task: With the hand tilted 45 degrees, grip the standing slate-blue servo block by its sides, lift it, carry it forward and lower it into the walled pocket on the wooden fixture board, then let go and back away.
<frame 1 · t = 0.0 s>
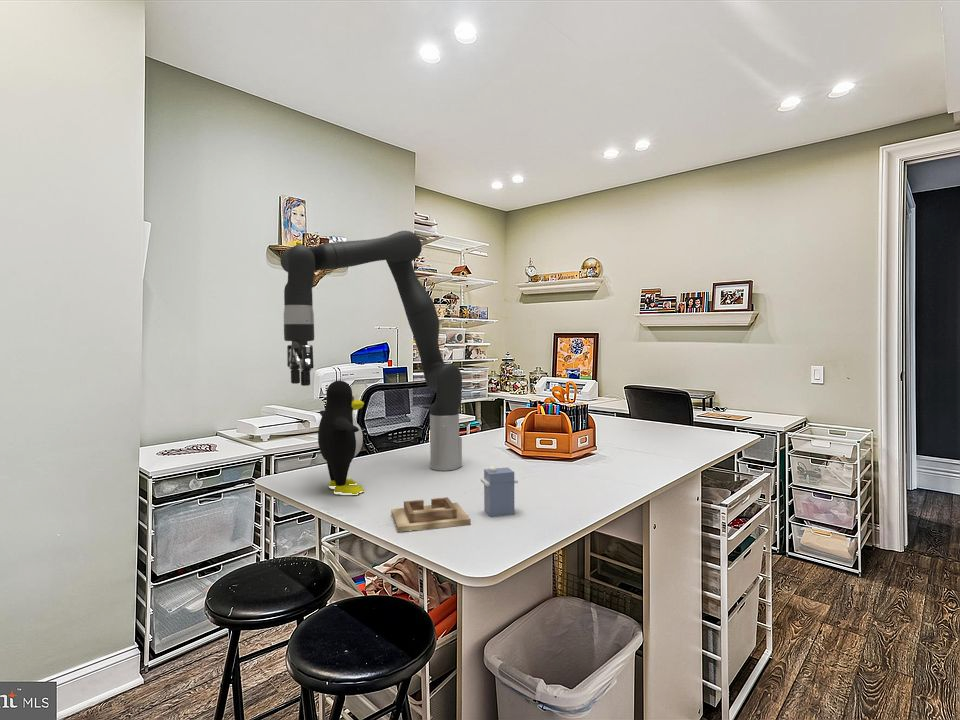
hand: (300, 384, 135), 29 cm above the table, fingers open, 8 cm apart
wooden fixture board: (429, 519, 116), on the table
toy: (342, 490, 140), on the table
servo block: (499, 512, 121), on the table
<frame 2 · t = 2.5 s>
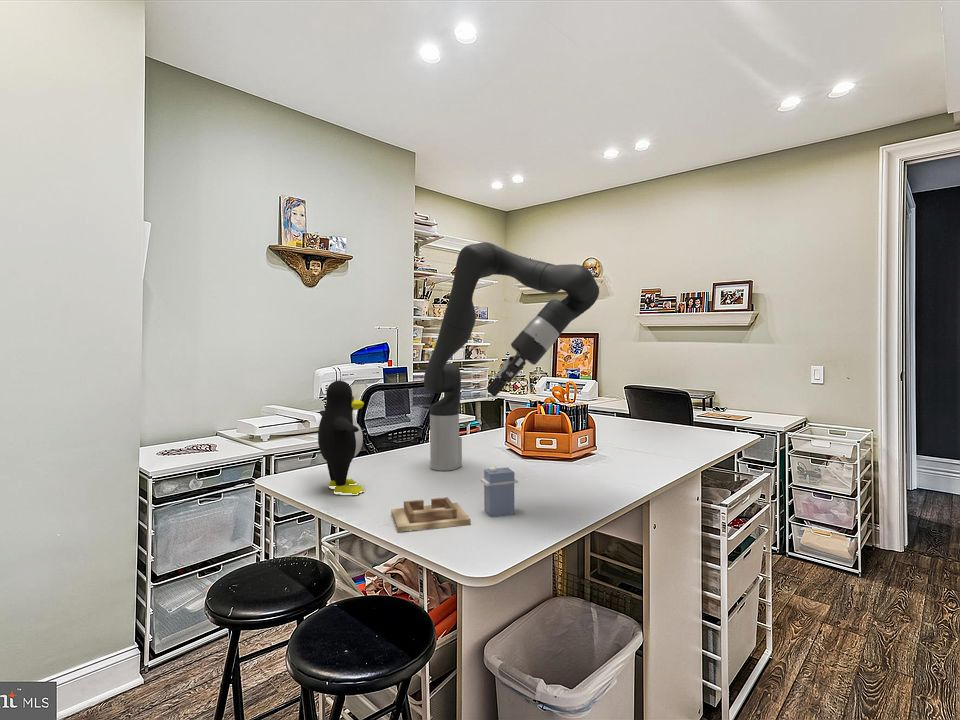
hand: (490, 392, 119), 28 cm above the table, fingers open, 8 cm apart
nothing on the table moved.
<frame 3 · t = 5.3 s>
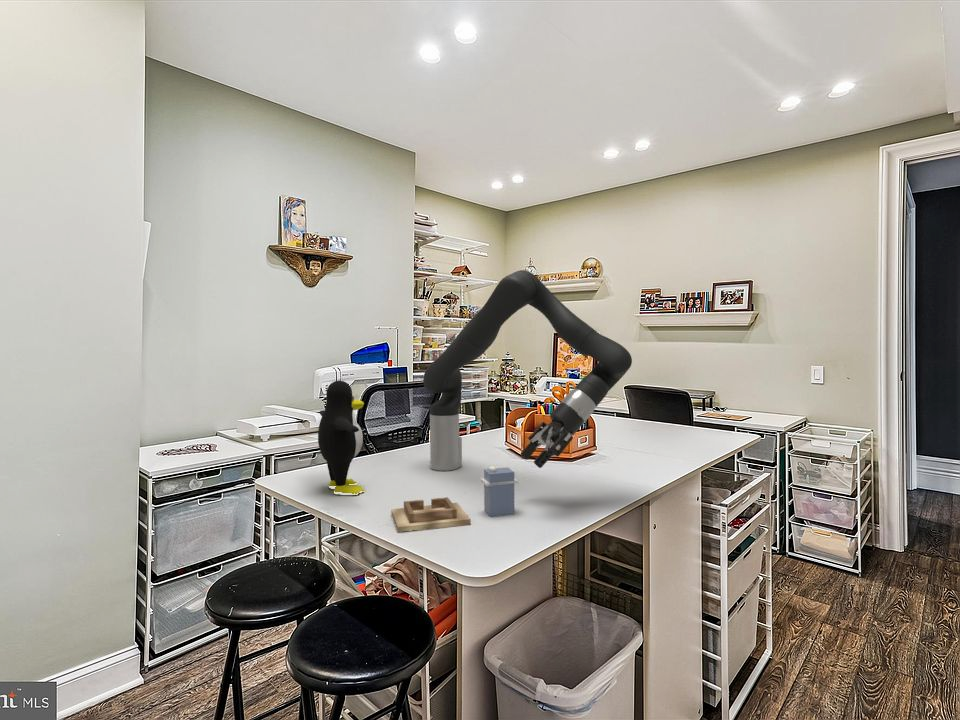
hand: (529, 461, 122), 12 cm above the table, fingers open, 8 cm apart
nothing on the table moved.
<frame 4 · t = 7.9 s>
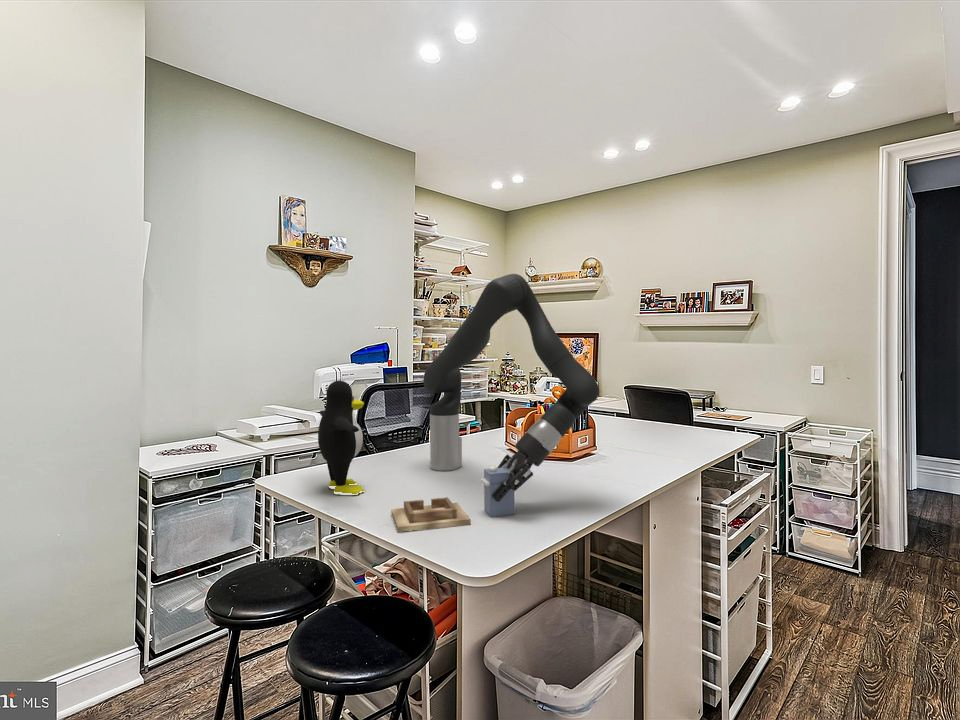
hand: (491, 495, 120), 4 cm above the table, fingers closed on servo block, 4 cm apart
servo block: (499, 512, 121), on the table, touching gripper
everything else where it was.
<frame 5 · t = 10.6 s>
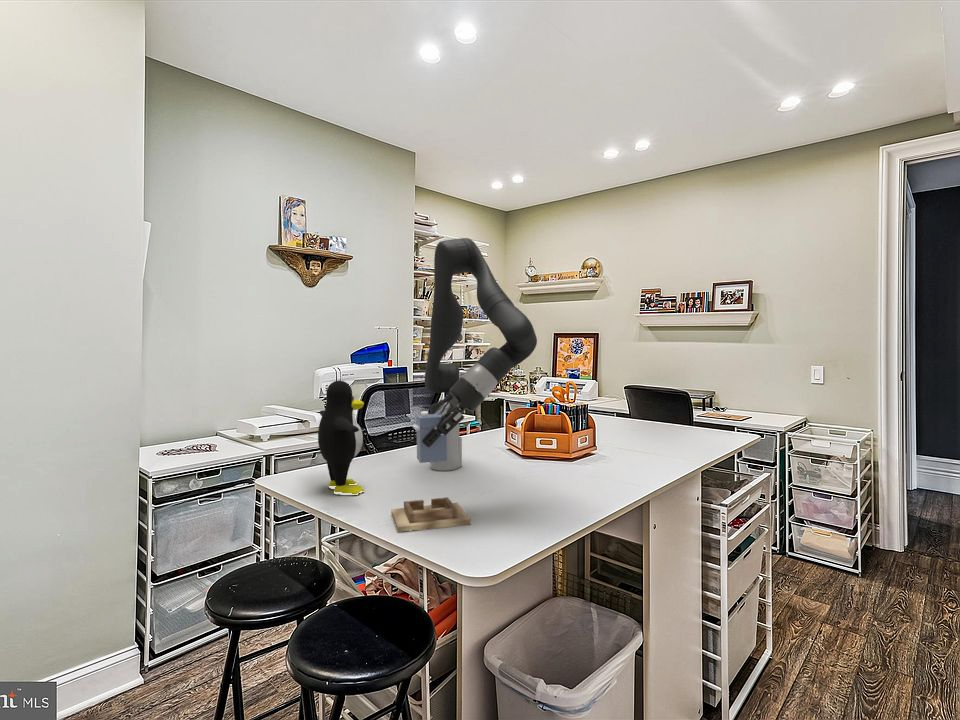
hand: (423, 442, 115), 18 cm above the table, fingers closed on servo block, 4 cm apart
servo block: (431, 459, 116), point 14 cm above the table, touching gripper
everything else where it was.
when the fingers open (7 cm above the table, at t = 13.1 s): servo block drops 2 cm, resting on wooden fixture board.
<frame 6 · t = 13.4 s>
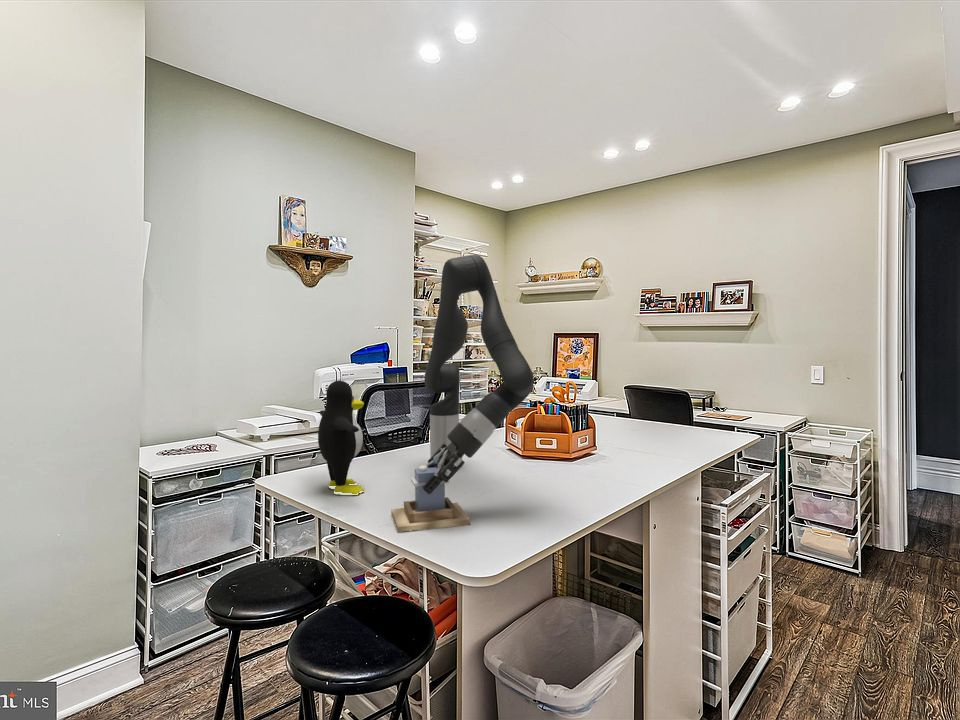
hand: (422, 486, 116), 8 cm above the table, fingers open, 7 cm apart
servo block: (430, 513, 117), point 1 cm above the table, touching wooden fixture board
everything else where it was.
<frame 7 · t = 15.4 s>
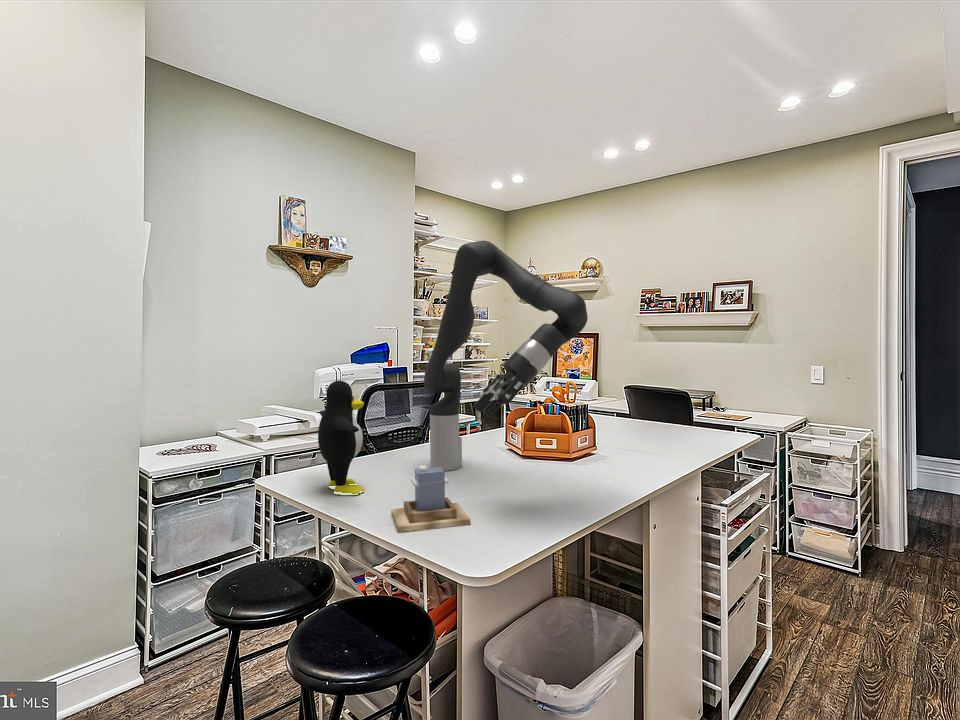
hand: (481, 412, 119), 24 cm above the table, fingers open, 8 cm apart
nothing on the table moved.
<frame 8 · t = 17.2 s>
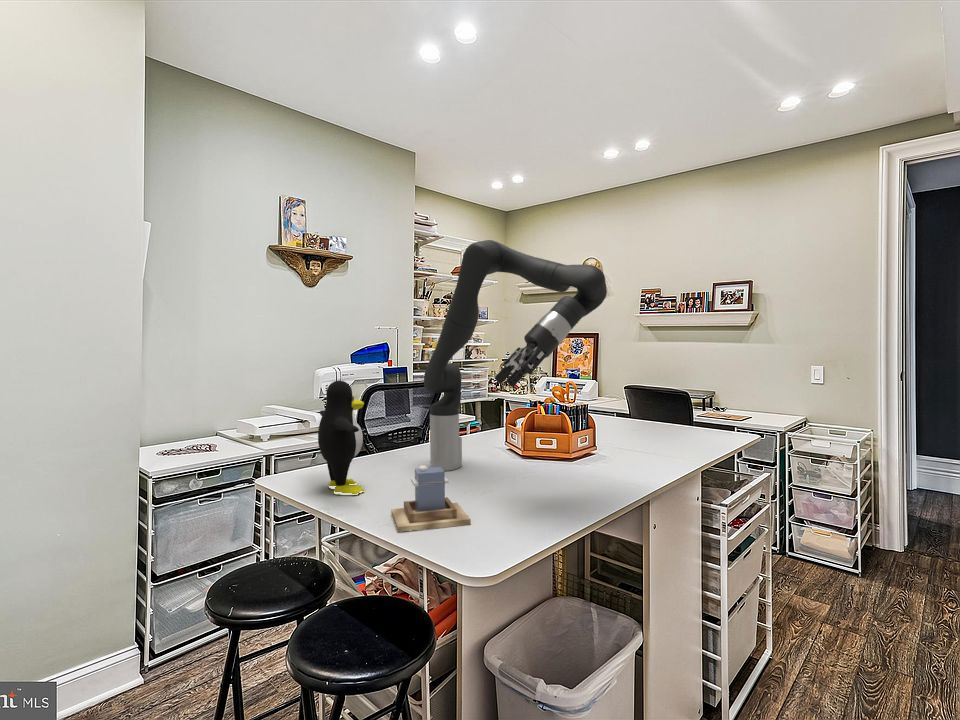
hand: (503, 382, 120), 31 cm above the table, fingers open, 8 cm apart
nothing on the table moved.
at the end: servo block 0.3 cm from the wooden fixture board (horizontally); servo block tilted 0°; servo block point 1.2 cm above the table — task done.
